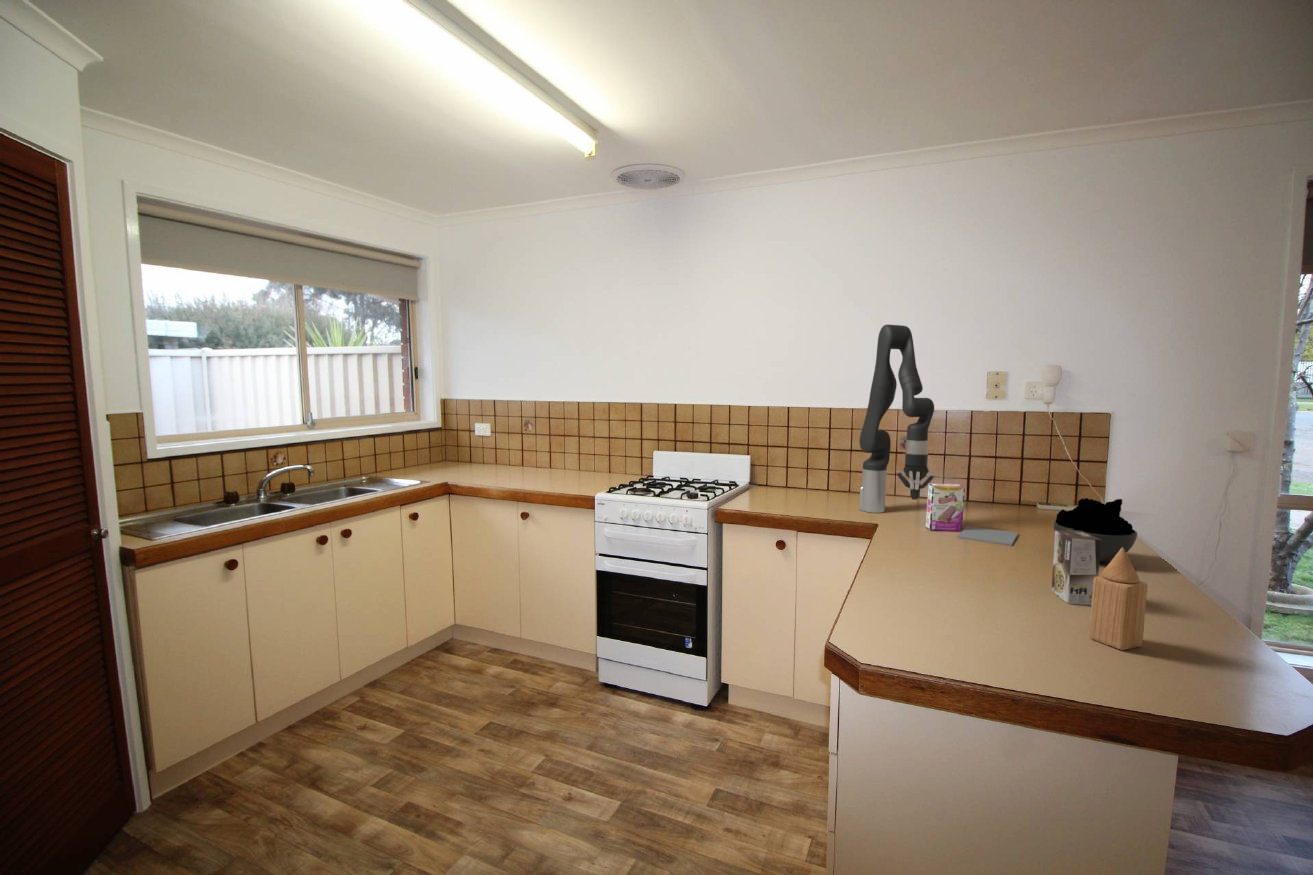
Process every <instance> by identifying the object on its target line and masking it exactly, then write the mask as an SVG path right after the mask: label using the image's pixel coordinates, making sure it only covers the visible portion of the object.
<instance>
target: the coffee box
mask: <svg viewBox="0 0 1313 875" xmlns="http://www.w3.org/2000/svg"><path fill="white" fill-rule="evenodd" d="M1053 545H1054V546H1053V557H1052V558H1053V560H1052V561H1053V562H1052V574H1051V575H1052V576H1051V577H1052V578H1051V580H1052V581H1051V592H1052V591H1053V592H1054V593H1055V594H1054V593H1053V592H1052V593H1053V594H1054V595H1056V596H1057V595H1058V596H1059V598H1060V599H1062V600H1063V601H1064V602H1065V603H1067V604H1069V605H1070V604H1071V605H1082V606H1092V593H1093V580H1094V578H1095V577H1098V576H1099V572H1100V571H1099V569H1100V562H1099V561H1100V549H1101V539H1099V538H1096V537H1094V536H1092V535H1090V534H1088V533H1086V532H1083V531H1075V530H1055V531H1054V544H1053ZM1058 596H1057V597H1058Z"/></svg>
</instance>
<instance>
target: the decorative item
mask: <svg viewBox="0 0 1313 875" xmlns="http://www.w3.org/2000/svg"><path fill="white" fill-rule="evenodd" d="M1147 596H1148V583H1146V582H1144V581H1141V580H1140V576H1139V575H1138V573H1137V571H1136V570H1135V568H1134V566H1133V564H1132V561H1131V560H1130V558H1129V556H1128V554H1127V553H1126V552H1125V550H1124V548H1123V547H1122V548H1121V549H1120V551H1119V552H1118V553H1117V554H1116V556H1115V557H1114V558H1113V559H1112V560H1110V562H1109V563H1108V565H1106V567H1105V568H1104V569H1103V571H1101V575H1098V577H1095V578H1094V580H1093V593H1092V605H1090V606H1091V607H1090V608H1091V609H1090V610H1091V611H1090V620H1089V622H1090V623H1089V633H1088V637H1089V638H1090V639H1091V640H1094V641H1097V642H1100V643H1101V644H1104V645H1107V646H1109V645H1110V647H1111V646H1112V648H1114V647H1115V649H1116V648H1117V649H1116V650H1119V649H1120V650H1119V651H1126V649H1127V650H1131V649H1135V648H1138V647H1141V646H1142V645H1143V644H1144V642H1143V641H1144V630H1145V620H1146V607H1147Z"/></svg>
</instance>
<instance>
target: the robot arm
mask: <svg viewBox="0 0 1313 875" xmlns="http://www.w3.org/2000/svg"><path fill="white" fill-rule="evenodd" d="M914 345H915V344H914V338H913V335H912V331H911V329H910V328H909V327H908V326H907V325H899V324H885V325H883V326H882V327H881V328H880V331H879V333H878V338H877V345H876V346H877V347H876V357H875V364H874V365H875V367H874V371H873V372H874V373H873V376H872V382H871V387H870V392H869V400H868V404H867V408H866V413H865V414H866V415H865V418H864V420H863V421H864V422H863V425H862V429H861V431H860V436H859V447H860V448H859V449H861V451H862V452H863V453H867V454H871V455H870V456H869V458H867V459H866V460H864V461H863V462H862V476H861V479H862V480H861V481H862V482H861V486H860V488H859V511H862V512H866V513H877V514H879V513H880V514H881V513H885V512H886V494H887V493H886V491H887V473H888V472H887V470H888V465H889V462H890V456H891V447H892V446H891V445H892V443H891V436H890V434H889V432H887V430H884V429H880V424H881V422H882V419H883V418H884V416H885V414H886V412H888V411H889V409H890V407H891V406H892V404H893V402H894V400H895V397H896V392H897V386H898V384H897V379H896V376H895V374H894V371H893V369H892V366H891V362H890V360H891V351H892V350H899V351H900V353H901V356H902V359H901V364H900V367H899V368H898V374H897V375H898V376H897V378H898V382H899V385H900V389H901V391H902V392H901V393H902V402H901V403H902V405H901V407H902V411H903V414H904V415H905V416H906V417H907V418H918V419H917V421H916V422H914V423H910V424H908V425H907V428H906V442H905V455H904V456H905V457H904V467H903V470H902V471H900V472H898V473H897V477H898V478H899V479H900V481H901V482H902V483H903V485H904V487H905V488H908V489H910V490H909V491H910V495H909V496H910V498H911V500H914V501H915V500H916V501H917V500H918V499H920V491H921V489H922V490H923V489H925V488H926V487H928V484H931V482H932V481H933V480H934V478H935V475H933V474H932V473H930V472H929V468H928V461H929V460H928V459H929V442H928V439H929V438H928V437H929V436H928V435H929V428H930V425H931V422H932V417H934V416H933V415H934V412H935V403H934V401H933V400H932V399H931V398H930V397H915V396H918V395H920V394H921V393H922V392H923V384H922V380H921V378H920V374H919V372H918V368H917V364H916V363H917V362H916V354H915V353H916V352H915V347H914ZM906 477H907V478H908V479H909V480H908V479H907V478H906ZM924 478H925V481H924V482H923V483H922V480H923V479H924Z"/></svg>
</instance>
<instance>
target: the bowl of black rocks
mask: <svg viewBox="0 0 1313 875" xmlns="http://www.w3.org/2000/svg"><path fill="white" fill-rule="evenodd" d="M1122 504H1123V499H1122V498H1117V499H1114V500H1112V501H1107V502H1105V503H1102V502H1101V501H1098V500H1095V499H1093V498H1091V499H1089V498H1087V497H1085V498H1081V499H1079V500H1078V501H1077V506H1076V507H1074V508H1073V509H1070V510H1065V509H1061V510H1060V511H1059V512H1058V513H1056V520H1055V521H1054V522H1053V529H1054V532H1055V530H1075V531H1083V532H1086V533H1088V534H1090V535H1092V536H1094V537H1096V538H1099V539H1101V549H1100V561H1099V563H1101V562H1108V561H1112V559H1113V558H1114V557H1115V556H1116V554H1117V553H1118V552H1119V551H1120V549H1121V548H1122V547H1123V548H1124V550H1125V552H1126V554H1127V553H1129V551H1130V550H1131V549H1132V548H1133V546H1134V544H1135V543H1136V542H1137V538H1138V532H1137V530H1135V529H1133V528H1134V527H1133V525H1132V523H1130V522H1129V521H1128V520H1126V519H1125V518H1123V517H1122V516H1120V515H1121V511H1122Z"/></svg>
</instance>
